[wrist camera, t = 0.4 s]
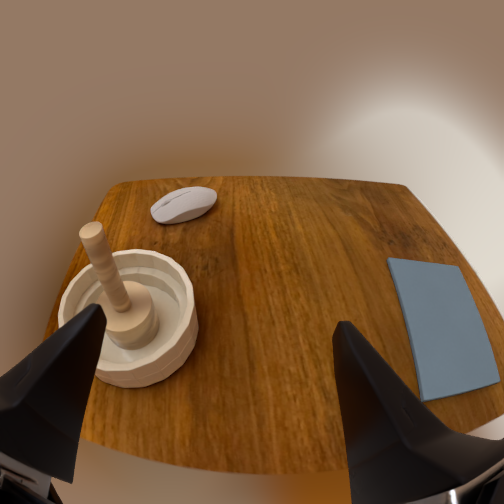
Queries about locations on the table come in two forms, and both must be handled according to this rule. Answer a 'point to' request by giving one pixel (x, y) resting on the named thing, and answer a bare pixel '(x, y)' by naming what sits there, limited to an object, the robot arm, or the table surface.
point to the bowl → (168, 309)
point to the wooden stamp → (120, 295)
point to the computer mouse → (183, 205)
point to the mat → (443, 329)
